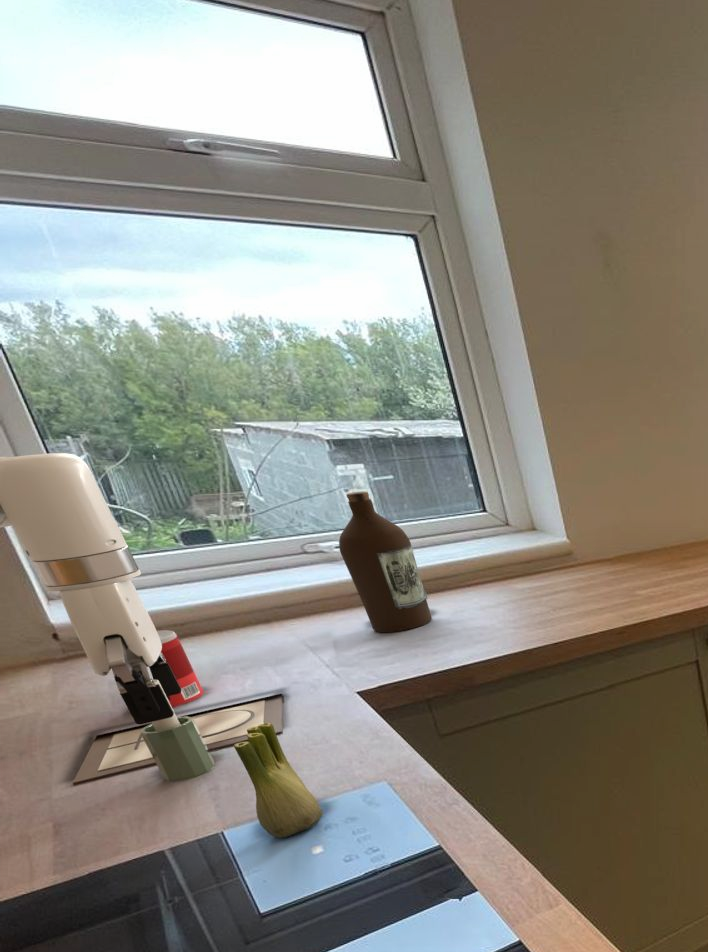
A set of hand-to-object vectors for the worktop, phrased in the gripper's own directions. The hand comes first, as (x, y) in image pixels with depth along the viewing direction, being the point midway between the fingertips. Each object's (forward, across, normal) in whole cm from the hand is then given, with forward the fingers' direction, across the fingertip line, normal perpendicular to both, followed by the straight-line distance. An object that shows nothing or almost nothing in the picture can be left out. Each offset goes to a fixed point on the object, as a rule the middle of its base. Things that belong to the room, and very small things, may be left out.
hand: (160, 707), depth 97 cm
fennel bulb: (+10, +26, +10) cm, 29 cm away
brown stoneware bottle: (+9, -54, +27) cm, 61 cm away
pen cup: (+9, 0, 0) cm, 9 cm away
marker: (+9, 0, 0) cm, 9 cm away
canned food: (+9, -32, -4) cm, 34 cm away
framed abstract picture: (+9, -15, -1) cm, 18 cm away
